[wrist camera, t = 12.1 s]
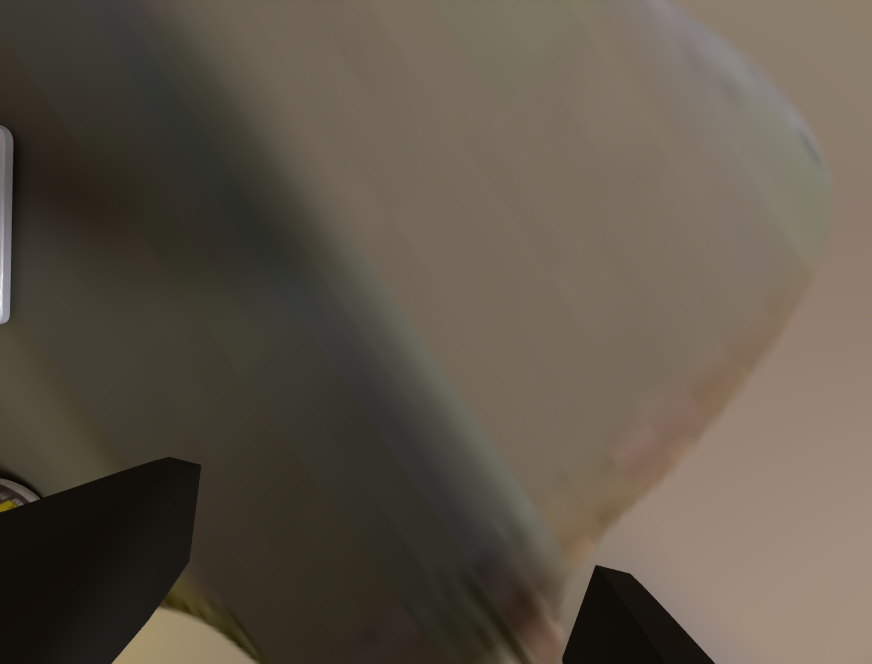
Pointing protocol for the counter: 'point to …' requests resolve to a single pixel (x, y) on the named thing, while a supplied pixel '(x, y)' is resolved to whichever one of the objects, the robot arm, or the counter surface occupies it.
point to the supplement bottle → (14, 495)
